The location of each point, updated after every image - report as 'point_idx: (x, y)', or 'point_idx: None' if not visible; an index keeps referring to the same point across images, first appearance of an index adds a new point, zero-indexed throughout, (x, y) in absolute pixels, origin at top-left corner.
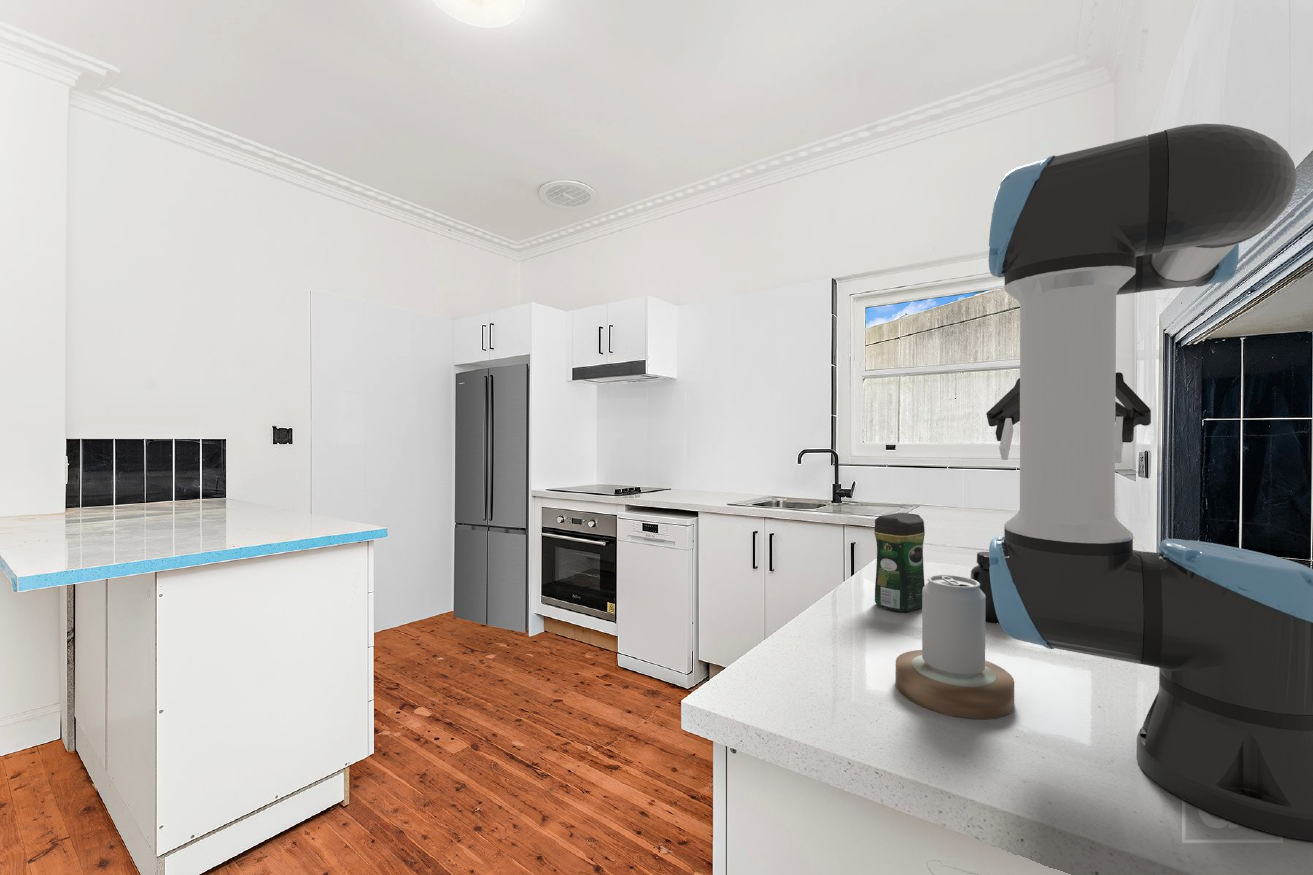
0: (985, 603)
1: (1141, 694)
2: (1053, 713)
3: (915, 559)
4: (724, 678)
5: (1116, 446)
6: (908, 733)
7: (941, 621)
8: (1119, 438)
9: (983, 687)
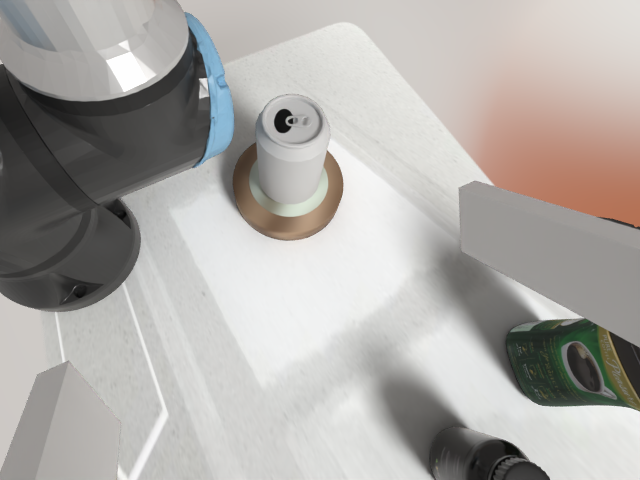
0: (457, 433)
1: (195, 372)
2: (217, 237)
3: (573, 361)
4: (382, 54)
5: (52, 382)
6: (251, 108)
7: (281, 119)
8: (20, 440)
9: (247, 173)
